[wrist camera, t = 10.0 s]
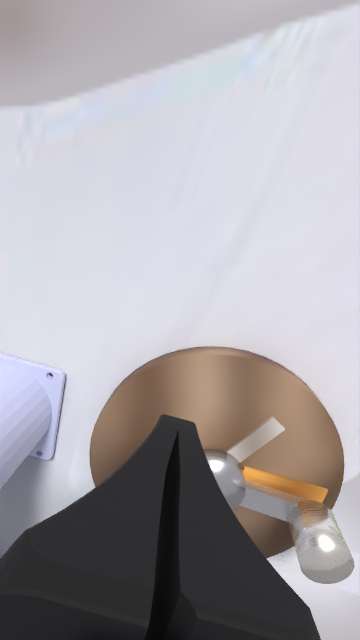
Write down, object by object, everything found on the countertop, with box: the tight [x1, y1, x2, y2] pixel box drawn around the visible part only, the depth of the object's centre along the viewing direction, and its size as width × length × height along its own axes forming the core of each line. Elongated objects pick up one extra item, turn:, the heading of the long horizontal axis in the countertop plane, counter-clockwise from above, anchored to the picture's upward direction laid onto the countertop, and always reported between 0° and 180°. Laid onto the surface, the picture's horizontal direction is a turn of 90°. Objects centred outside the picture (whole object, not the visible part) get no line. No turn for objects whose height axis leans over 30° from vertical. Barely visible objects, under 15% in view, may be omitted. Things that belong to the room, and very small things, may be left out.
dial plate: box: [90, 346, 344, 558], centre depth 22 cm, size 18×18×2 cm
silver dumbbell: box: [204, 449, 354, 584], centre depth 19 cm, size 11×4×4 cm, turn 72°
